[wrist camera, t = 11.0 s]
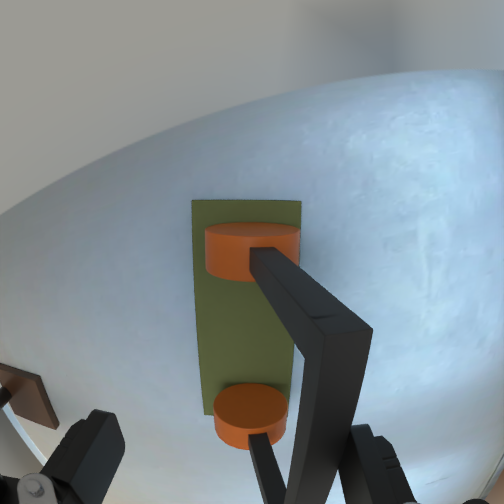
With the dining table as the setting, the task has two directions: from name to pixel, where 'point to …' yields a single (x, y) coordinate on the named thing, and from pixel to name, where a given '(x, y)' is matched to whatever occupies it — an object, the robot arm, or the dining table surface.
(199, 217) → the desk pad
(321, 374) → the headphones
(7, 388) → the hook stand
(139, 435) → the dining table surface
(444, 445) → the dining table surface
